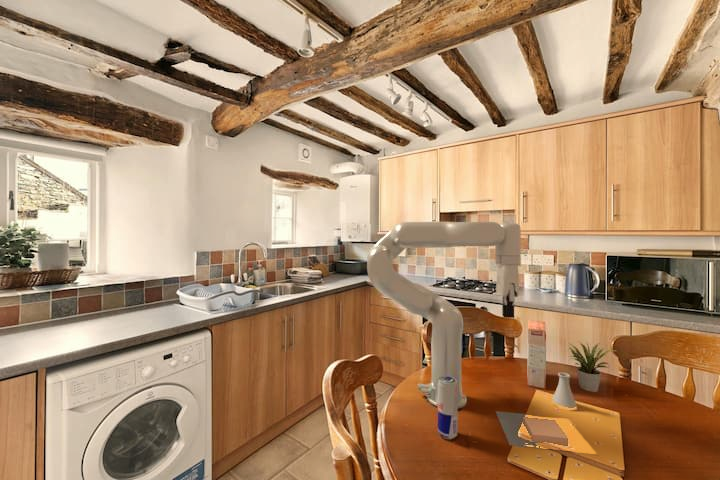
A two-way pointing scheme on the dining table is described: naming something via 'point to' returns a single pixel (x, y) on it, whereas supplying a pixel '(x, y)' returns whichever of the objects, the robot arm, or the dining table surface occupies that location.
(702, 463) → the dining table surface
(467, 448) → the dining table surface
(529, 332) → the cracker box
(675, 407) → the dining table surface
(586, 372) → the house plant
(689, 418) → the dining table surface
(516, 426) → the mat
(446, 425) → the beverage can
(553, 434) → the tile
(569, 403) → the flask
